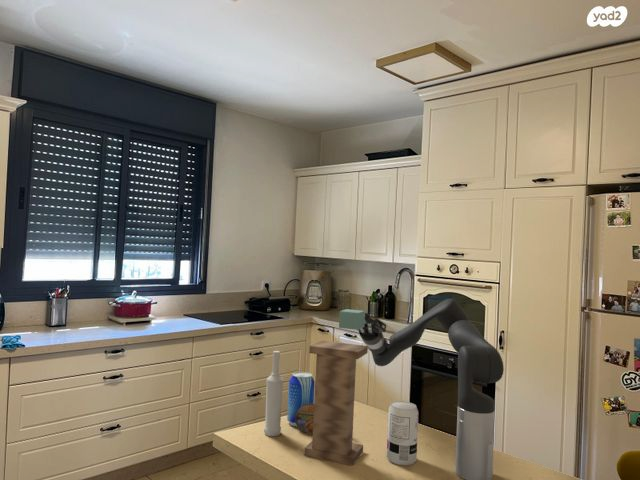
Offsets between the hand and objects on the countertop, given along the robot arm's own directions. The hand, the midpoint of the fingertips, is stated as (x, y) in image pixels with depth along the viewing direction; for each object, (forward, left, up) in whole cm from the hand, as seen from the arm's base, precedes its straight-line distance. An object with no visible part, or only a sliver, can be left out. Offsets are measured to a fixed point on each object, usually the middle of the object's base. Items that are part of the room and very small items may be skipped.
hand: (361, 315), depth 152 cm
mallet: (0, +4, -3) cm, 5 cm away
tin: (+10, +8, -37) cm, 39 cm away
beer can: (+18, +4, -37) cm, 41 cm away
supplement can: (-18, +16, -37) cm, 44 cm away
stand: (0, +21, -37) cm, 43 cm away
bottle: (+22, +16, -37) cm, 46 cm away
